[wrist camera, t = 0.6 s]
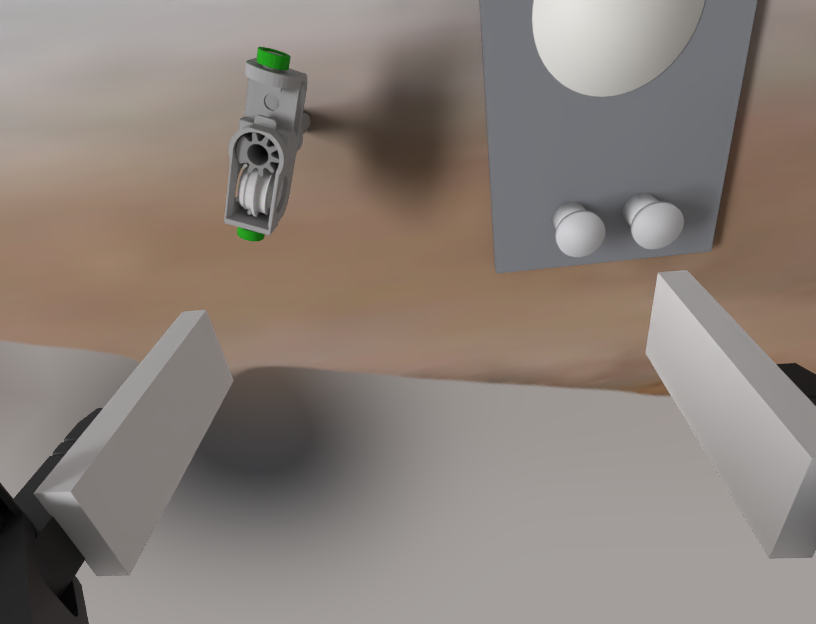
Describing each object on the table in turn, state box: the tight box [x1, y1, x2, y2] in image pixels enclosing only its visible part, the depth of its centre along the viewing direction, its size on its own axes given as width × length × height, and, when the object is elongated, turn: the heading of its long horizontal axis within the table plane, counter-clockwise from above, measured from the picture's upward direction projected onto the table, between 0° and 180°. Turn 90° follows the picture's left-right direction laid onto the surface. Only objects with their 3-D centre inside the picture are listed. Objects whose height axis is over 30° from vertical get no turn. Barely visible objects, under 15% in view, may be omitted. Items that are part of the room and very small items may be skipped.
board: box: [479, 0, 757, 273], centre depth 32 cm, size 22×16×5 cm
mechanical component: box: [224, 47, 311, 241], centre depth 31 cm, size 3×10×10 cm, turn 164°
